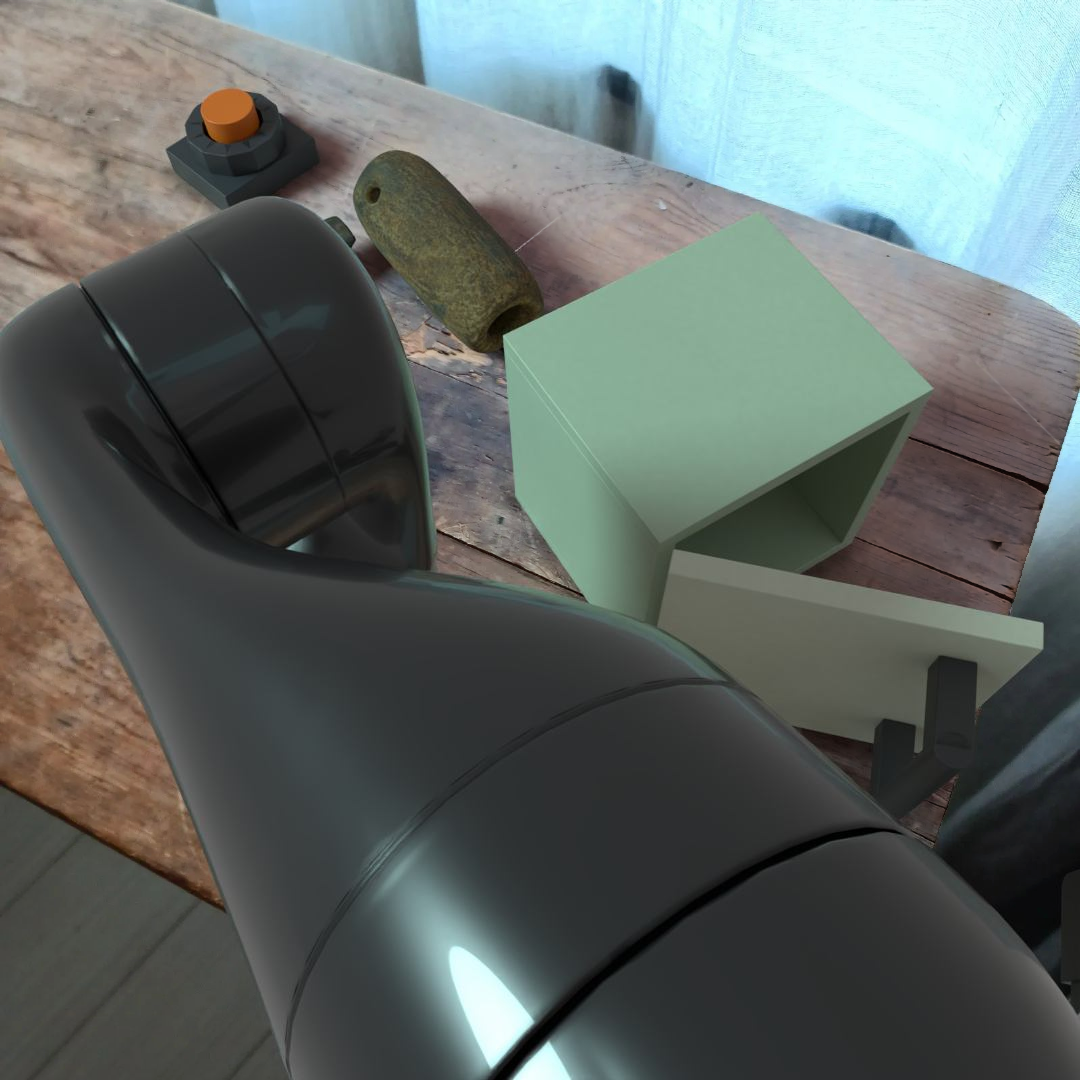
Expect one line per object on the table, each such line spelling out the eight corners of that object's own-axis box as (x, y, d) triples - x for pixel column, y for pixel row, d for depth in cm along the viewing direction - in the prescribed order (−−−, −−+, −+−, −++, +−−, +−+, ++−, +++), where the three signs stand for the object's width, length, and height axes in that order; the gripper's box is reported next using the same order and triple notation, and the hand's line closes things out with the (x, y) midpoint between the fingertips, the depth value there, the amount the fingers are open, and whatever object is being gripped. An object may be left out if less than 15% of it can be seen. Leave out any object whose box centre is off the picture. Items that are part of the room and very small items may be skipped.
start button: (229, 152, 70) (222, 131, 69) (197, 127, 72) (189, 106, 70) (270, 125, 72) (263, 104, 70) (238, 102, 73) (231, 80, 71)
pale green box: (851, 543, 59) (935, 388, 46) (636, 671, 56) (659, 543, 43) (719, 389, 65) (760, 210, 51) (515, 497, 61) (502, 335, 48)
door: (920, 847, 51) (1043, 766, 38) (625, 779, 53) (646, 680, 40) (927, 733, 54) (1044, 622, 41) (646, 673, 56) (673, 548, 43)
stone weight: (344, 249, 71) (324, 173, 65) (424, 201, 73) (412, 123, 67) (478, 382, 65) (470, 312, 59) (562, 325, 67) (561, 253, 61)
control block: (234, 221, 72) (217, 176, 69) (174, 173, 75) (155, 128, 71) (320, 162, 75) (308, 116, 71) (260, 117, 77) (246, 71, 74)
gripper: (1271, 1527, 26) (1230, 872, 33) (706, 1355, 27) (786, 768, 34) (1122, 1433, 32) (1116, 906, 39) (676, 1299, 34) (748, 818, 41)
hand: (962, 843), depth 37 cm, fingers open, 8 cm apart
